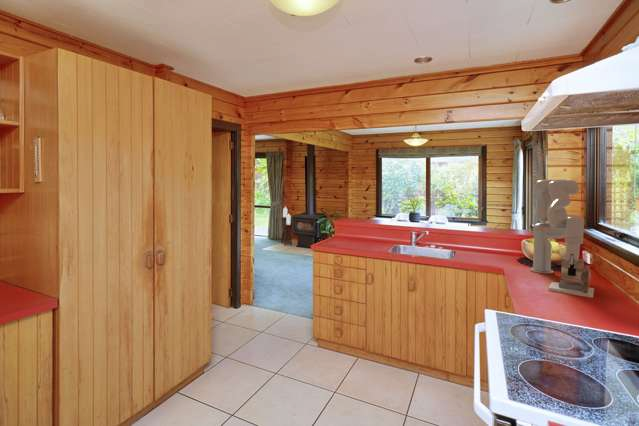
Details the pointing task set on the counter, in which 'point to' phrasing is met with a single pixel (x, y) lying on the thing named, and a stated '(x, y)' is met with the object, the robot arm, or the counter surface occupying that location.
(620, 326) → the counter surface
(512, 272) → the counter surface
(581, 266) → the beige rectangular block
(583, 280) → the cabinet side
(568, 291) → the white tile with rails
